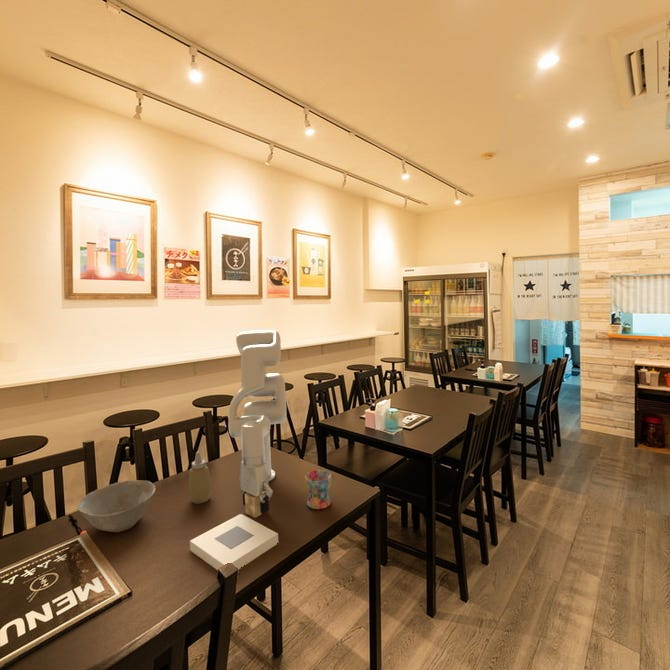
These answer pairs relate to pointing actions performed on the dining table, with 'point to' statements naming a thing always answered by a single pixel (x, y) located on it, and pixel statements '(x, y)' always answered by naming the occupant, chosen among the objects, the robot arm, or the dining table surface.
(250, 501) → the maple block
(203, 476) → the squeeze bottle
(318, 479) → the mug
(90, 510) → the ceramic bowl
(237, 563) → the base board
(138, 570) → the dining table surface
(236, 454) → the dining table surface
